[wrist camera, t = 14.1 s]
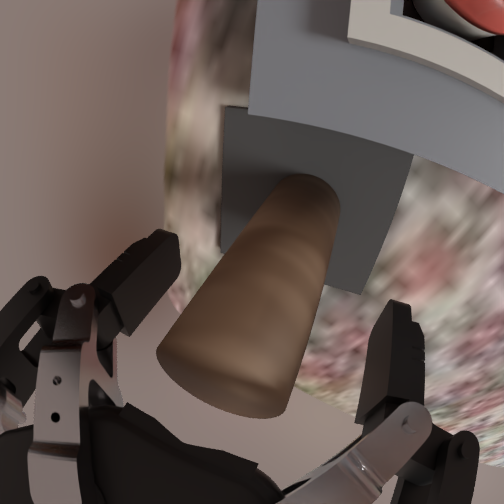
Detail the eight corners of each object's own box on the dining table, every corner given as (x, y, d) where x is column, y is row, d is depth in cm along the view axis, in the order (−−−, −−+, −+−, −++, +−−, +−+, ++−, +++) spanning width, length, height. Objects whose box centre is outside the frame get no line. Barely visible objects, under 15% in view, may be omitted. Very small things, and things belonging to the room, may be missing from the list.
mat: (413, 147, 11) (415, 149, 10) (361, 289, 16) (360, 294, 16) (229, 105, 13) (225, 107, 12) (223, 248, 18) (220, 252, 18)
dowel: (348, 184, 13) (301, 380, 5) (331, 245, 15) (274, 429, 7) (275, 166, 13) (143, 319, 6) (267, 227, 16) (168, 385, 8)
